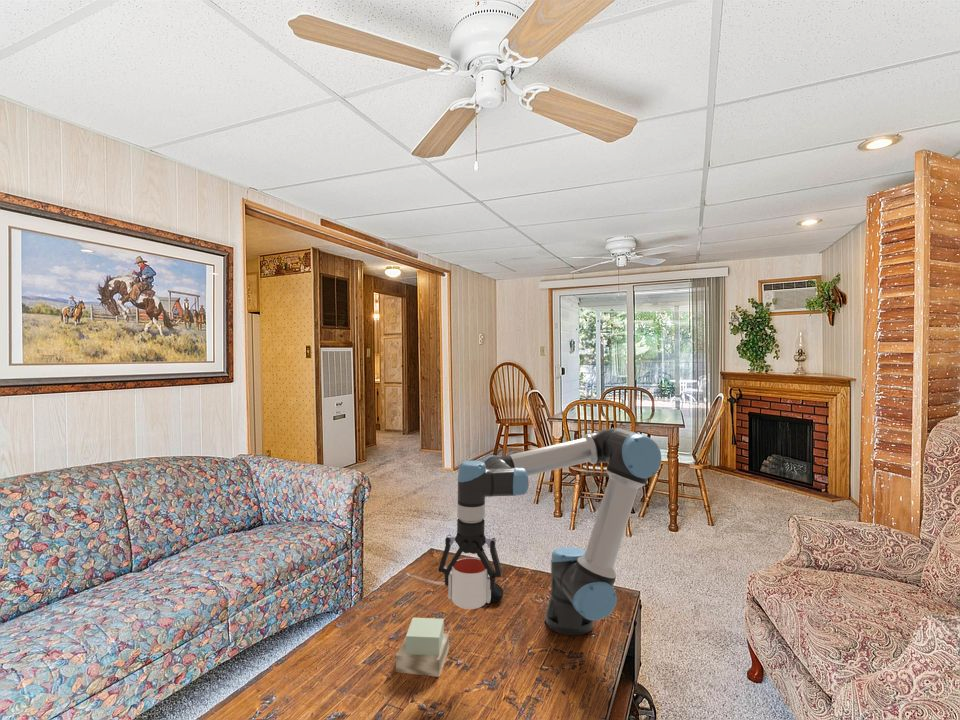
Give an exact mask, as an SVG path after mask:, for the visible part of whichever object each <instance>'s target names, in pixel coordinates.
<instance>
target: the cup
mask: <svg viewBox="0 0 960 720" xmlns="http://www.w3.org/2000/svg"><path fill="white" fill-rule="evenodd" d="M451 571H452V598H451V601H452V602H453V604H454V605H456V606H457V607H458V608H461V609H463V610H464V609H465V610H474V609H480V608H481V607H484V605H486V603H487V578H488V573H487V569H485V567H484V565H483V563H482V561H481V560H480V558H475V557H474V558H473V557H466V558H460V559H458V560H457V561H456V563H455V565H454V566H452V569H451Z"/></svg>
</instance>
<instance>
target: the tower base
mask: <svg viewBox="0 0 960 720" xmlns="http://www.w3.org/2000/svg"><path fill="white" fill-rule="evenodd" d="M449 651H450V633H445V632H444V637H443V641H442V646H441V650H440V654H439V656H430V655H409V654H406V636H405V637H404V639H403V640H402V643H401V645H400V647H399V648H398V650H397V652H396V654H395V673H402V674H409V675H411V674H412V675H420V676H427V677H428V676H430V677H435V678H436V677H437V678H439V677H440V675H441V673H442V670H443V668H444V665H445V662H446V660H447V656H448V654H449Z"/></svg>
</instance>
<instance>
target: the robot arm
mask: <svg viewBox="0 0 960 720" xmlns="http://www.w3.org/2000/svg"><path fill="white" fill-rule="evenodd" d="M582 436H583V437H581V438H578V439H573V440H569V441H564V442H560V443H556V444H550V445H548V446H542V447H538V448H533V449H530V450H525V451H519V452H515V453H512V454H507V455H502V456H498V455H494V454H493V455H492V454H491V455H488V456H486V457H485V458H484V459H482V461H480V460H465V461H463V462H461V463H460V464H459V465H458V472H457V473H458V474H457V475H458V476H457V505H456V506H457V509H456V511H457V518H458V519H456V520H457V521H456V525H457V526H456V535H451V534H448V535H447V536H446V538H445V542H444V543H445V547H444V550H443V553H442V557H441V559H440V560H441V561H440V563H439V566H438V572H439V573H443V574H444V586H445V587H448V591H447V599H448V600H452V566H454V565H455V563H456V561H457V560H459V558H460V557H461V555H462V554H463V553H464V554H473V555H477V557H478V559H480V560H481V561H482V563H483V565H484V567H485V569H487V573H488V578H487V602H486V603H487V604H491V601H490V600H491V590H494V588H495V583H496V578H500V577H501V576H502V572H503V570H502V567H501V562H500V559H499V555H498V551H497V547H496V543H497V540H496V538H495V537H492V538H486V535H485V527H486V526H485V522H486V521H485V519H484V518H485V517H486V515H485V514H486V512H485V511H486V509H485V508H486V497H489V498H490V497H491V498H492V497H510V496H513V497H516V496H522V495H525V494H527V492H528V490H529V483H530V482H529V476H530V477H531V476H534V475H538V474H542V473H546V472H551V471H555V470H560V469H564V468H568V467H573V466H577V465H580V464H582V465H583V464H586V463H590V464H592V465H595V464H602V463H603V464H607V467H606V469H605V471H606V474H607V475H608V481H607V483H606V487H605V489H604V490H605V491H604V494H603V496H602V499H601V503H600V506H599V509H598V512H597V515H596V517H595V522H594V525H593V527H592V530H591V534H590V537H589V539H588V543H587V546H586V549H584V548H582V547H581V548H580V547H575V546H567V547H566V546H565V547H558V548H556V549H554V550H553V551H552V552H551V557H550V558H551V559H550V568H551V569H550V574H551V575H550V576H551V577H550V584H551V585H550V592H551V593H550V598H549V601H548V604H547V607H546V610H545V619H544V620H545V624H546V625H547V626H548V627H549V628H550V629H551V630H552V631H554V632H557V633H559V634H560V635H561V634H562V635H565V636H566V635H567V636H581V635H585V633H586V634H588V633H590V632H591V631H592V630H593V629H594V624H595V621H600V620H602V619H604V618H607V617H609V616H610V615H611V613H613V611H614V610H615V609H616V605H617V602H618V601H617V600H618V597H617V593H616V591H615V588H614V584H615V582H616V579H617V573H616V571H615V569H614V567H615V563H616V560H617V557H618V553H619V550H620V547H621V543H622V541H623V538H624V535H625V532H626V529H627V526H628V522H629V520H630V519H629V518H630V516H631V512H632V510H633V507H634V503H635V499H636V498H637V494H638V490H639V489H640V488H642V487H644V486H646V484H647V481H648V478H651V477H652V476H653V475H655V474H656V473H658V471H659V469H660V468H661V464H662V452H661V449H660V447H659V446H658V443H657V442H656V441H654V439H652V438H651V437H649V436H647V435H645V434H643V433H639V432H636V431H632V430H628V429H625V428H621V427H614V428H613V427H612V428H606V429H601V430H597V431H594V432H589V433H586V434H584V435H582ZM454 542H455V543H456V544H457V546H458V549H457V551H456V552H455V554H454V556H453V557H452V558H451V560H450V562H449V564H447V566H446V563H447V559H448V556H449V553H450V551H451V547H452V545H454ZM485 544H486V545H487V548H489V551H490V552H489V553H490V556H491V561H492V563H493V565H492V564H491V561H490V560H489V558H488V555H487V554H486V552H485V550H484V546H485Z"/></svg>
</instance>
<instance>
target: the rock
mask: <svg viewBox="0 0 960 720" xmlns="http://www.w3.org/2000/svg"><path fill="white" fill-rule="evenodd" d="M500 585H501V584H498V583H497V582H495V588H494V590H491V600H490V602H492V603H493V602H499V601H501V600H502V599H503V598H504V589H503V588H502V587H501V586H500Z"/></svg>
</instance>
